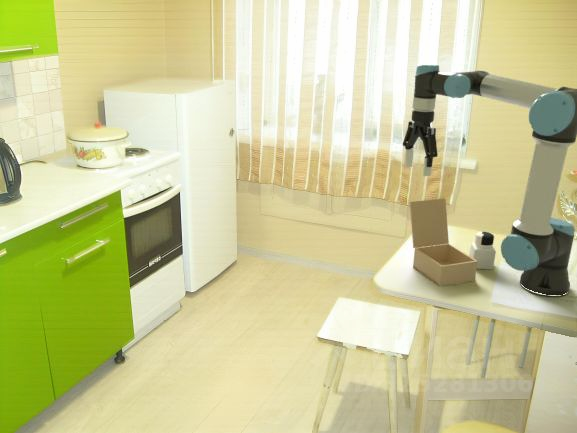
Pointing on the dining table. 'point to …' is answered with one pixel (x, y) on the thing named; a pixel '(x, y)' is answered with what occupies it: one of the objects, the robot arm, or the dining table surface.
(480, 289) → the dining table surface
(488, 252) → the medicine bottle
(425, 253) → the box
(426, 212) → the lid
